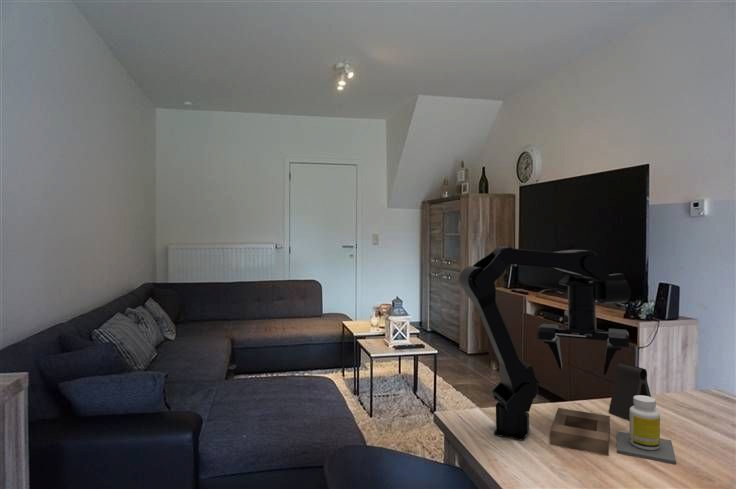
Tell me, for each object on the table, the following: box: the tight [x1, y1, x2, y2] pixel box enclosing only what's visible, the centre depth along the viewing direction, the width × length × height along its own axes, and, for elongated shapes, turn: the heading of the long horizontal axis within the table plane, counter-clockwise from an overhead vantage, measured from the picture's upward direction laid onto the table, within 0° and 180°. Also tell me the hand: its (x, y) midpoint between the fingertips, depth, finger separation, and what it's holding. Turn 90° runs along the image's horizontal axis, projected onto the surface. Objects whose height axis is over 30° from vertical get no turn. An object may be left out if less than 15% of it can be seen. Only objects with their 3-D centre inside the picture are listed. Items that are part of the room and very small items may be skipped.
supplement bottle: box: [628, 395, 661, 450], centre depth 94 cm, size 5×5×10 cm
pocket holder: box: [549, 407, 611, 456], centre depth 100 cm, size 11×14×3 cm
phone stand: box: [608, 362, 652, 422], centre depth 111 cm, size 9×6×12 cm, turn 115°
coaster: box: [616, 430, 677, 465], centre depth 94 cm, size 10×10×1 cm
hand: (582, 371), depth 104 cm, fingers open, 9 cm apart
